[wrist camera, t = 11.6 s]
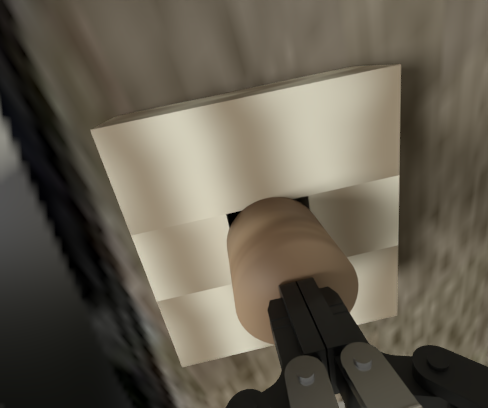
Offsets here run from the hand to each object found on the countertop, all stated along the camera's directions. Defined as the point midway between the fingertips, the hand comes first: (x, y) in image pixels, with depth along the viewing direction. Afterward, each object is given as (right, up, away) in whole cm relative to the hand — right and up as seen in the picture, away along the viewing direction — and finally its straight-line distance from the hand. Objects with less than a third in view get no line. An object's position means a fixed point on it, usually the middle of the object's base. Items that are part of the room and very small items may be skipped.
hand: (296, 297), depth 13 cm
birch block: (-1, +4, +9) cm, 10 cm away
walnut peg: (-1, +4, +9) cm, 10 cm away
